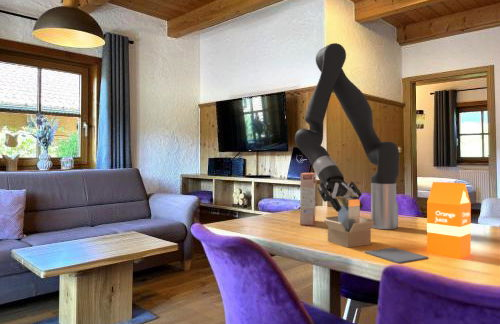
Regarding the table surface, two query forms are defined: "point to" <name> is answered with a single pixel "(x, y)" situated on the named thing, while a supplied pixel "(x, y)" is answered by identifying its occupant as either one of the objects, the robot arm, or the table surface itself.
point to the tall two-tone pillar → (349, 212)
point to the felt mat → (396, 255)
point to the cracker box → (307, 199)
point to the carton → (354, 237)
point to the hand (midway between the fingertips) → (350, 209)
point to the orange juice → (449, 220)
